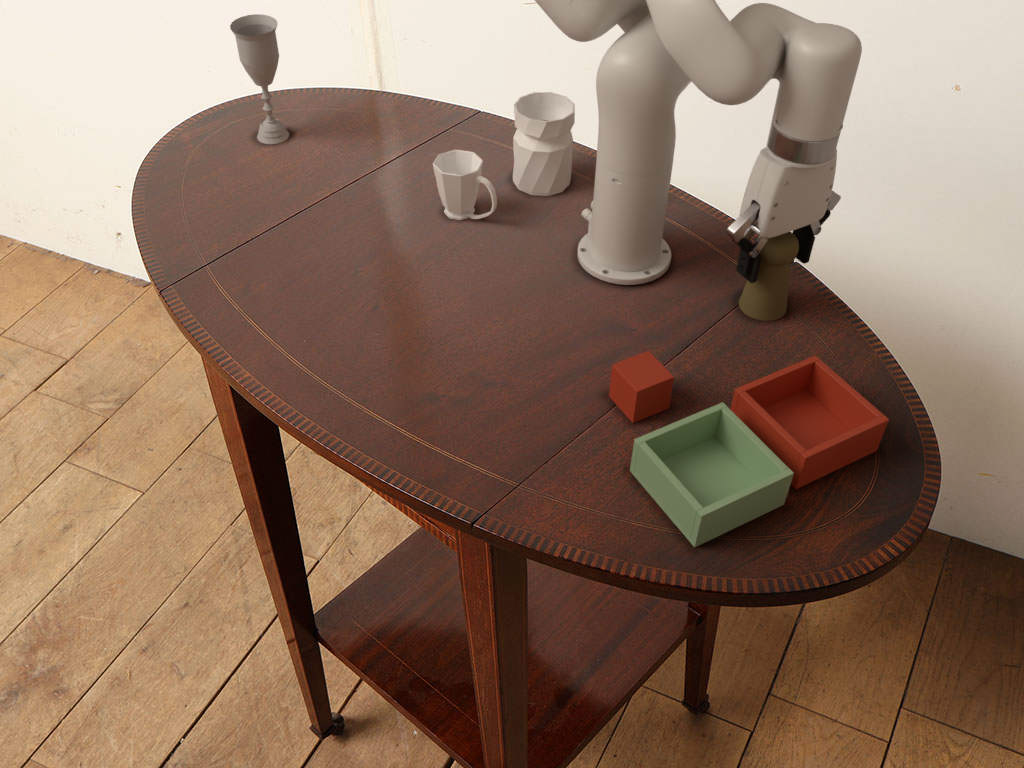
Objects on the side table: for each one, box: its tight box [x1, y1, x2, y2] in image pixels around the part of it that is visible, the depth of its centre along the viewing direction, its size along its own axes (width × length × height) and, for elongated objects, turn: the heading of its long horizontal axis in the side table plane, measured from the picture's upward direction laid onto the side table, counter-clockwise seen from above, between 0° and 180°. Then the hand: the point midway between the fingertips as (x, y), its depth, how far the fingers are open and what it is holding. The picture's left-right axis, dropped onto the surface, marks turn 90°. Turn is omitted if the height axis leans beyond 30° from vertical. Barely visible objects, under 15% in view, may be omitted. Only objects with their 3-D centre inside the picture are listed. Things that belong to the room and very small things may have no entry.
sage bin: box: [629, 401, 794, 548], centre depth 103 cm, size 12×12×5 cm
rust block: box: [608, 350, 675, 424], centre depth 112 cm, size 5×5×5 cm
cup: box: [432, 149, 498, 221], centre depth 138 cm, size 7×10×8 cm
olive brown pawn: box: [738, 231, 799, 322], centre depth 123 cm, size 6×6×11 cm
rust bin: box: [729, 355, 890, 490], centre depth 108 cm, size 12×12×5 cm
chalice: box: [229, 13, 290, 145], centre depth 149 cm, size 7×7×18 cm
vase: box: [512, 91, 576, 197], centre depth 143 cm, size 9×9×12 cm
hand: (772, 266), depth 122 cm, fingers open, 7 cm apart
